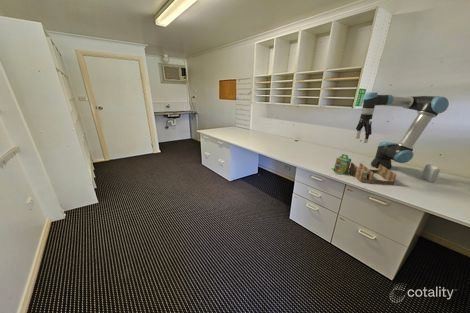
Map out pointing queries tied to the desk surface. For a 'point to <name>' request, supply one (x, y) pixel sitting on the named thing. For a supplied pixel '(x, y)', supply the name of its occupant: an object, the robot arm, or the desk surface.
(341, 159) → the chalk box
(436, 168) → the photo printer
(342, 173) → the cutting mat
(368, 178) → the rack
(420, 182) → the desk surface
